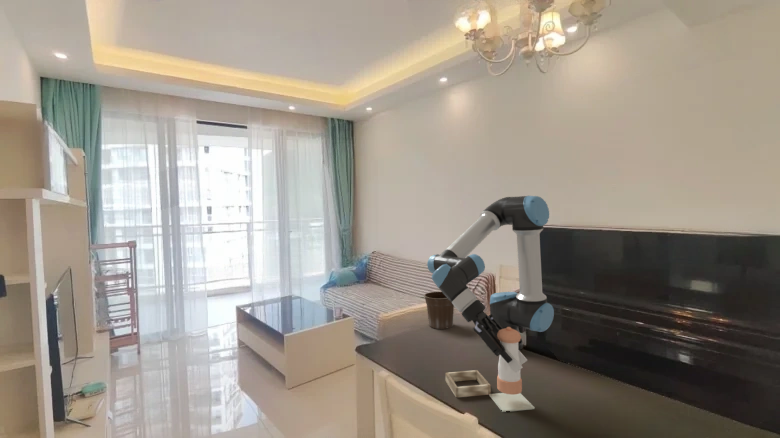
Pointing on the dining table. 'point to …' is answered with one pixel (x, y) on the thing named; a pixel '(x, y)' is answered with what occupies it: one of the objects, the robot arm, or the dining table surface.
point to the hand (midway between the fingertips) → (521, 366)
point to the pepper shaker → (506, 375)
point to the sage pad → (511, 402)
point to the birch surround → (468, 390)
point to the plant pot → (439, 310)
